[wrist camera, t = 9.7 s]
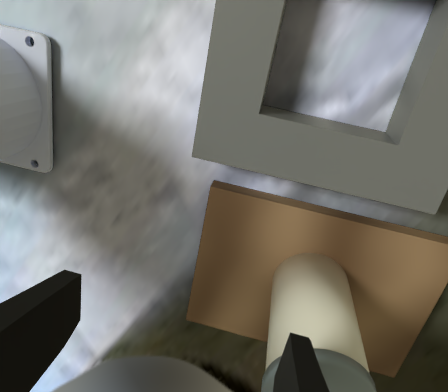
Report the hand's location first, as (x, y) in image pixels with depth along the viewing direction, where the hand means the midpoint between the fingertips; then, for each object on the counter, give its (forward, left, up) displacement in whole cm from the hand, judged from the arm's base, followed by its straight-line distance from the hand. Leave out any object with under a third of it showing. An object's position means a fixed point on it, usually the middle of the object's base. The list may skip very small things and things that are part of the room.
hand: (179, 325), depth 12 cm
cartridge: (+6, -4, -9) cm, 12 cm away
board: (+6, -4, -10) cm, 13 cm away
